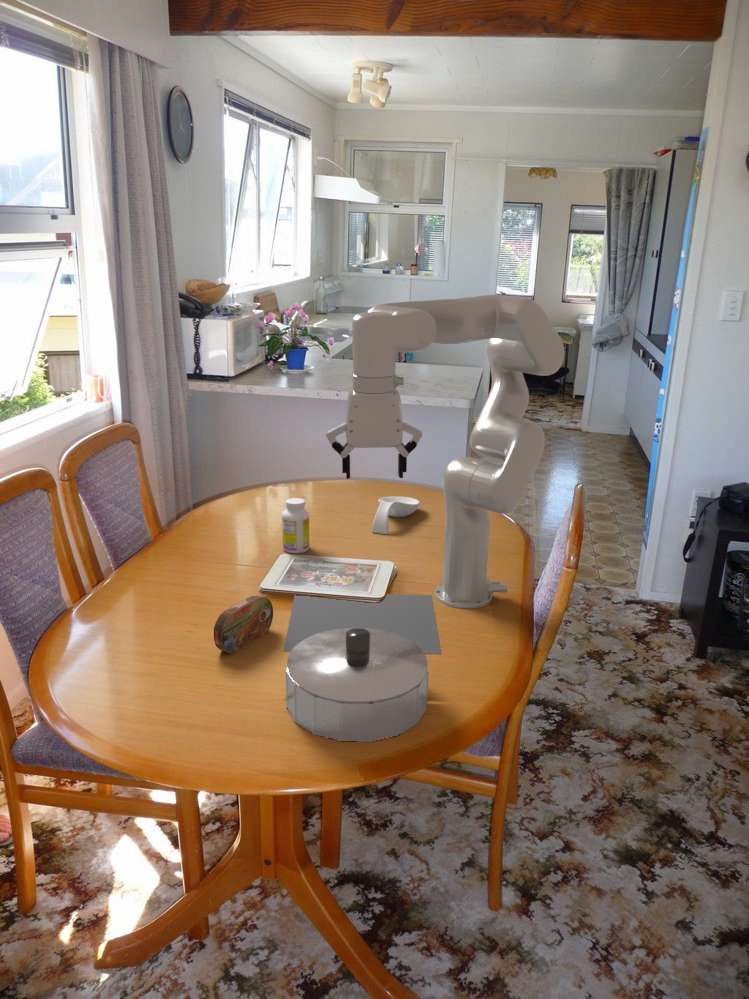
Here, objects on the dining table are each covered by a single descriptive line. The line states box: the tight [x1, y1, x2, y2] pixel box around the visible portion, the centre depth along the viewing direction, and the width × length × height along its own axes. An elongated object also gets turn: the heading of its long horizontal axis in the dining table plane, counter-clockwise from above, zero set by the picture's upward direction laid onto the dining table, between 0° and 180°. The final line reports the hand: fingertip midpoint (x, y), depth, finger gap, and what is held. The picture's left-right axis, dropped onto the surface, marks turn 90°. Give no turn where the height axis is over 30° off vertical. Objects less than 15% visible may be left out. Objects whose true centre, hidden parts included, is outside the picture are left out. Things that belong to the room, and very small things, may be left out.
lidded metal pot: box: [285, 628, 430, 743], centre depth 138 cm, size 24×24×13 cm
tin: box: [213, 595, 274, 655], centre depth 157 cm, size 15×3×8 cm, turn 148°
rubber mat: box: [283, 593, 442, 655], centre depth 167 cm, size 30×26×1 cm
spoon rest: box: [371, 495, 421, 535], centre depth 225 cm, size 24×12×7 cm, turn 163°
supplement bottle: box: [281, 497, 310, 555], centre depth 202 cm, size 7×7×13 cm
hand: (374, 476), depth 150 cm, fingers open, 9 cm apart
